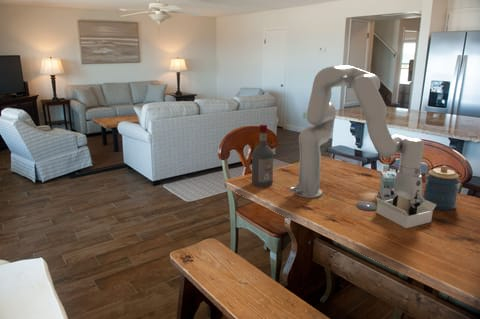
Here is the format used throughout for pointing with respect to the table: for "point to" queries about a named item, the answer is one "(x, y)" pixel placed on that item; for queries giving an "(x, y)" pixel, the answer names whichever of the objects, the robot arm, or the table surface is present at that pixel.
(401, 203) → the candle
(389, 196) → the light bulb box
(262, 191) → the table surface
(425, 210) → the white open box
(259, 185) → the liquor
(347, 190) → the table surface
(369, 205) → the grey ellipsoid
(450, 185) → the canister
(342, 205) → the table surface
